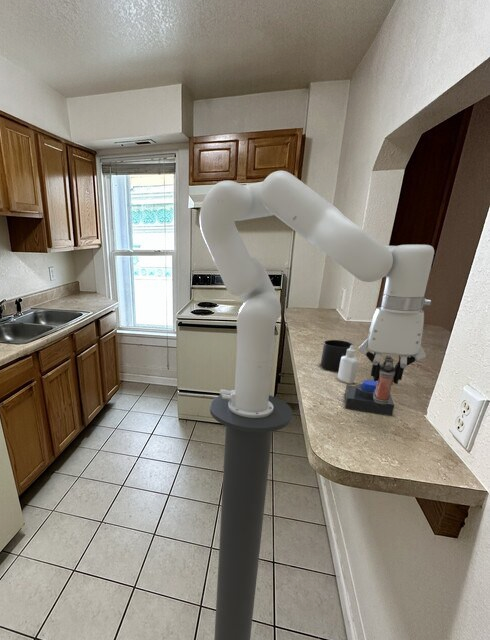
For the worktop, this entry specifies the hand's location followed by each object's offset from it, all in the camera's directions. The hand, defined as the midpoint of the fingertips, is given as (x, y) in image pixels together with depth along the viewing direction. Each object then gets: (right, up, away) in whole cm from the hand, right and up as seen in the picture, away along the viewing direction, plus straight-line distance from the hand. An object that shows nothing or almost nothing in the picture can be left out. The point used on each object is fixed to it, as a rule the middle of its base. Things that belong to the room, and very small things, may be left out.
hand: (384, 379), depth 84 cm
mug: (+9, +2, +42) cm, 43 cm away
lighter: (0, -5, +2) cm, 5 cm away
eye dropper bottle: (+7, -1, +31) cm, 32 cm away
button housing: (+4, -7, +15) cm, 17 cm away
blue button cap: (+4, -3, +13) cm, 14 cm away
